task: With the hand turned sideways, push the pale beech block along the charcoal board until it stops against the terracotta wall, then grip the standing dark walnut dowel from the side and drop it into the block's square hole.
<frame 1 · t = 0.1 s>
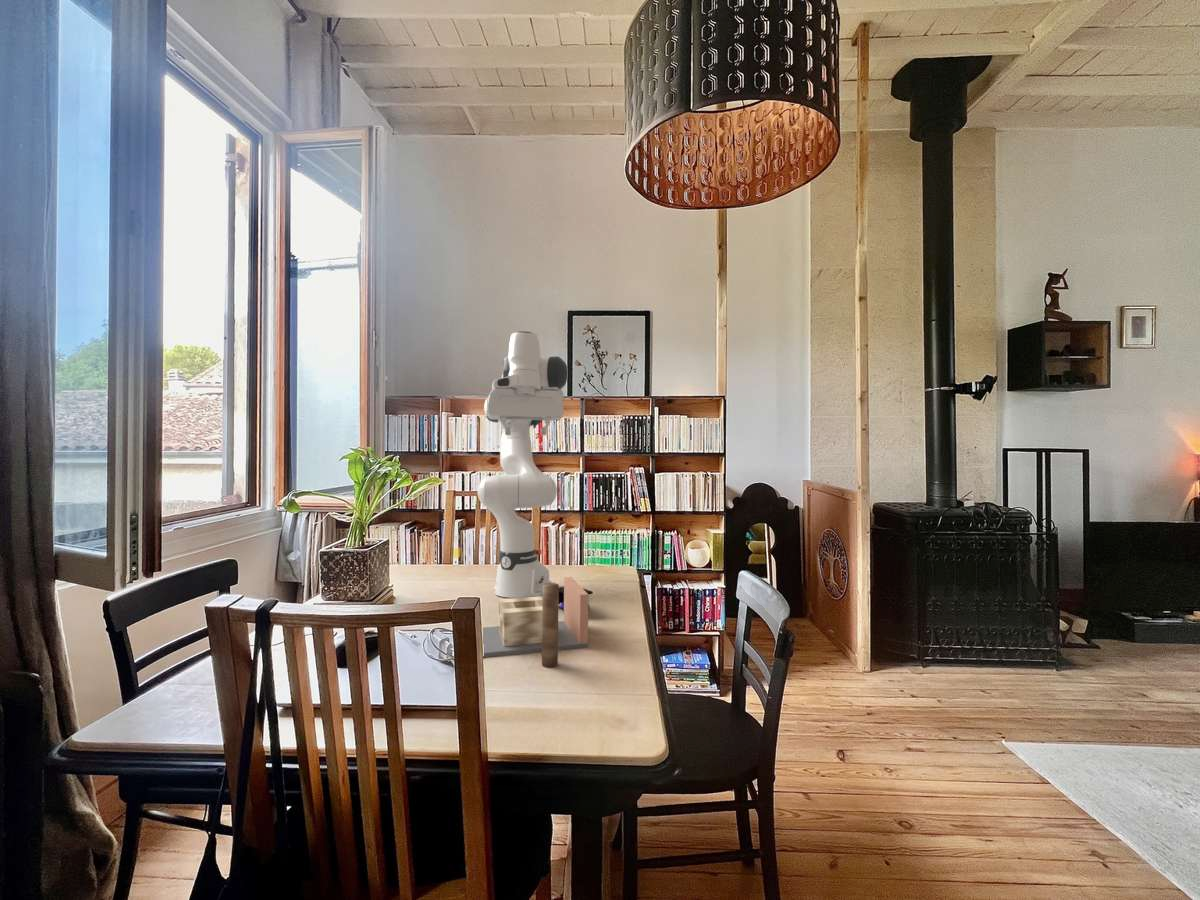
hand: (525, 434, 150), 52 cm above the table, tool tilted 20°, fingers open, 8 cm apart
figurine character: (571, 612, 168), on the table
block: (525, 619, 143), point 5 cm above the table, slide at 0.0 cm
dowel: (549, 664, 128), on the table
backstop: (527, 639, 144), on the table
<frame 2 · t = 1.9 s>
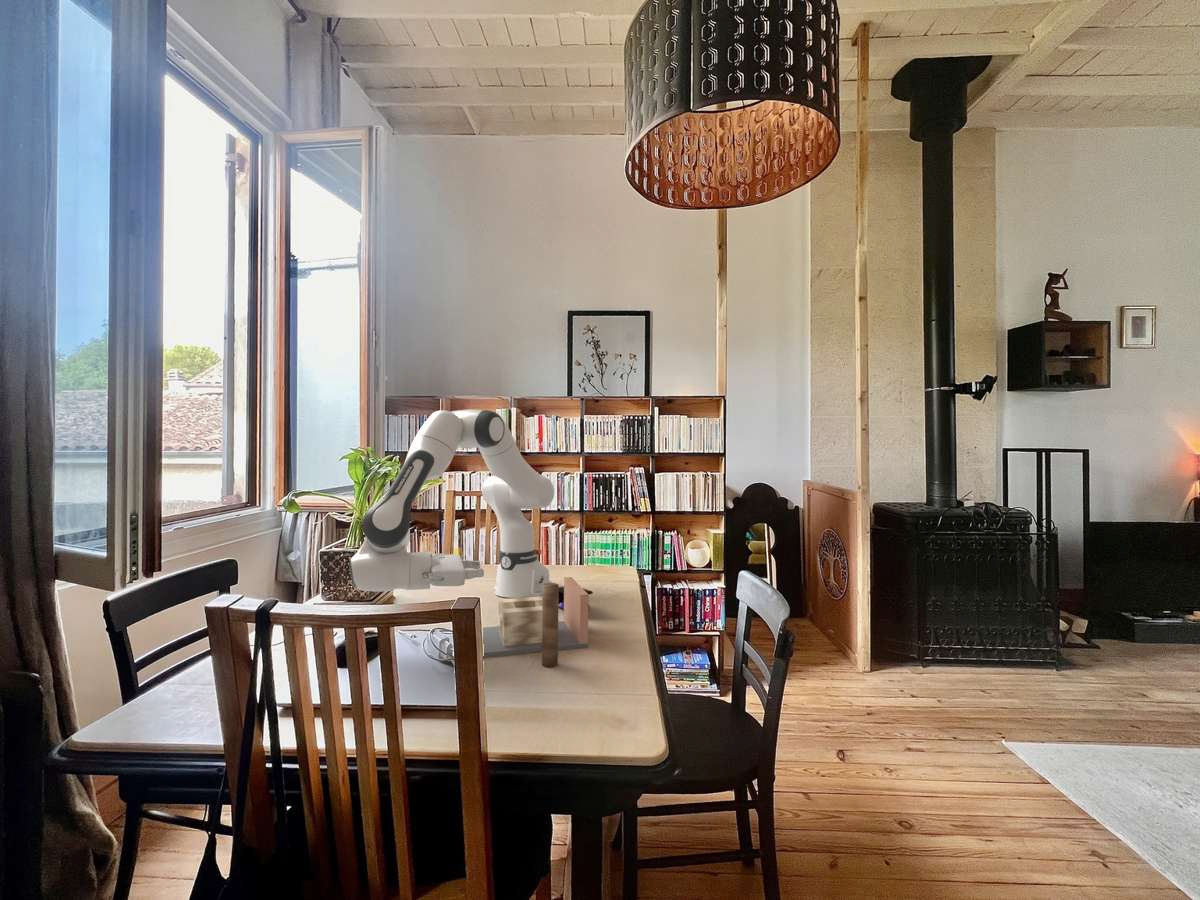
hand: (481, 568, 140), 19 cm above the table, tool horizontal, fingers open, 8 cm apart
nothing on the table moved.
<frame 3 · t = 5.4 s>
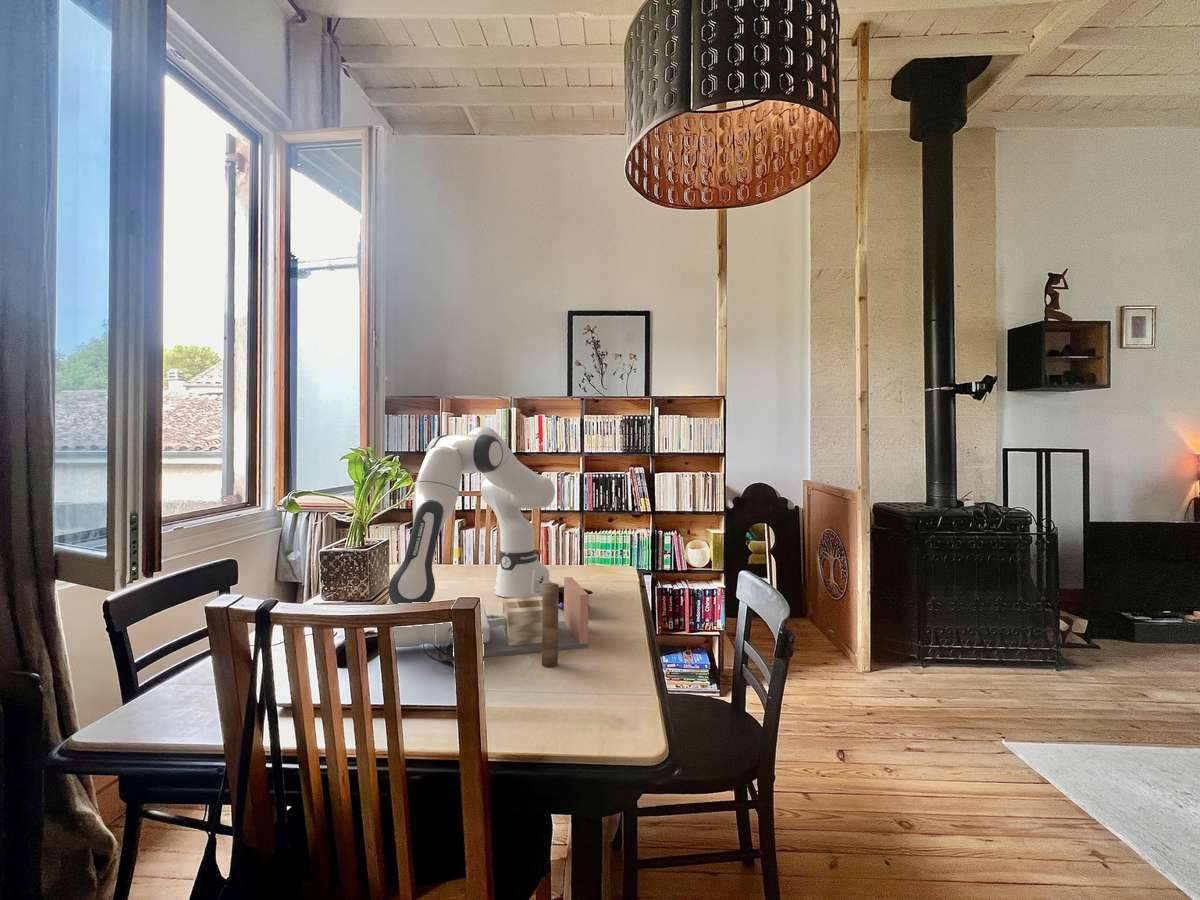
hand: (505, 620, 142), 5 cm above the table, tool horizontal, fingers closed, pressing on block
block: (529, 619, 144), point 5 cm above the table, slide at 1.1 cm, touching gripper
everything else where it was.
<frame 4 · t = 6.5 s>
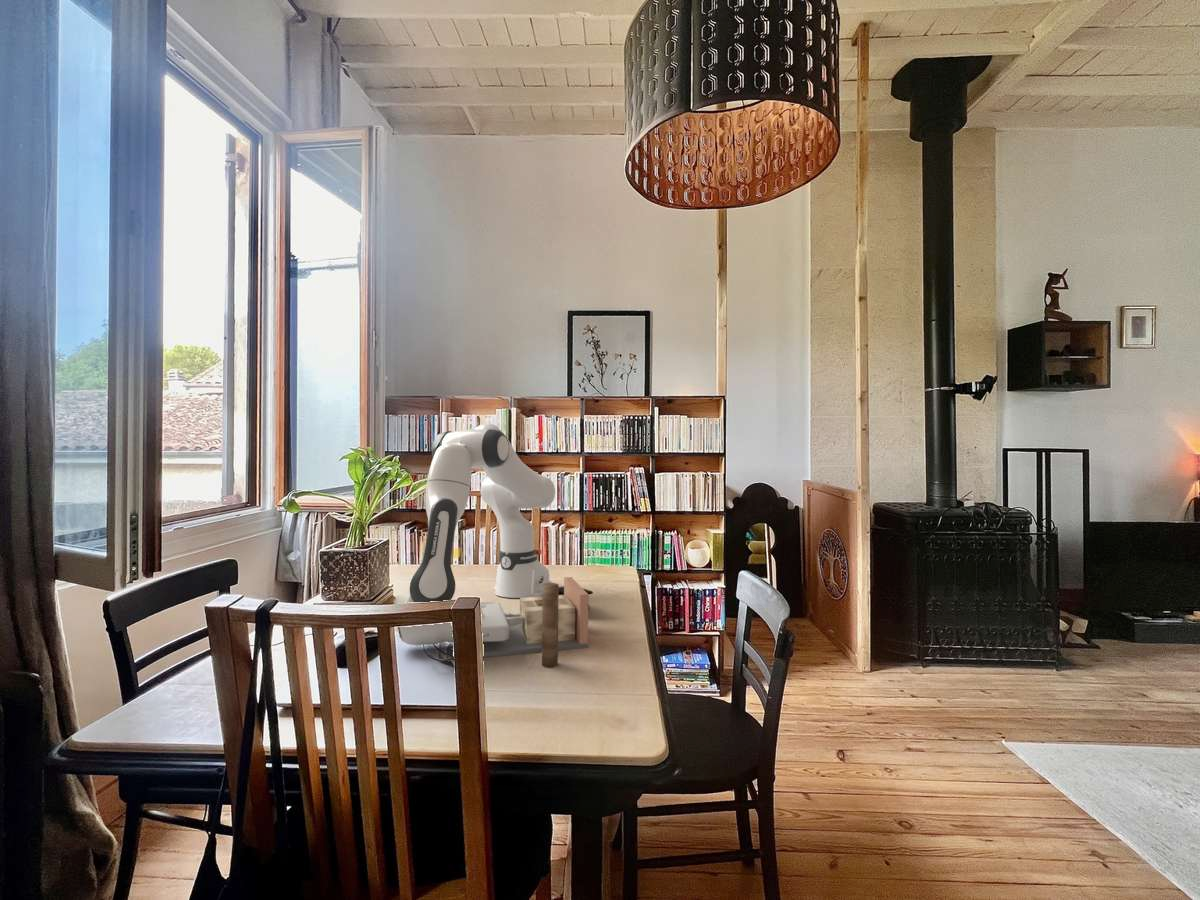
hand: (523, 618, 143), 5 cm above the table, tool horizontal, fingers closed, pressing on block
block: (546, 618, 145), point 5 cm above the table, slide at 5.5 cm, touching gripper
everything else where it was.
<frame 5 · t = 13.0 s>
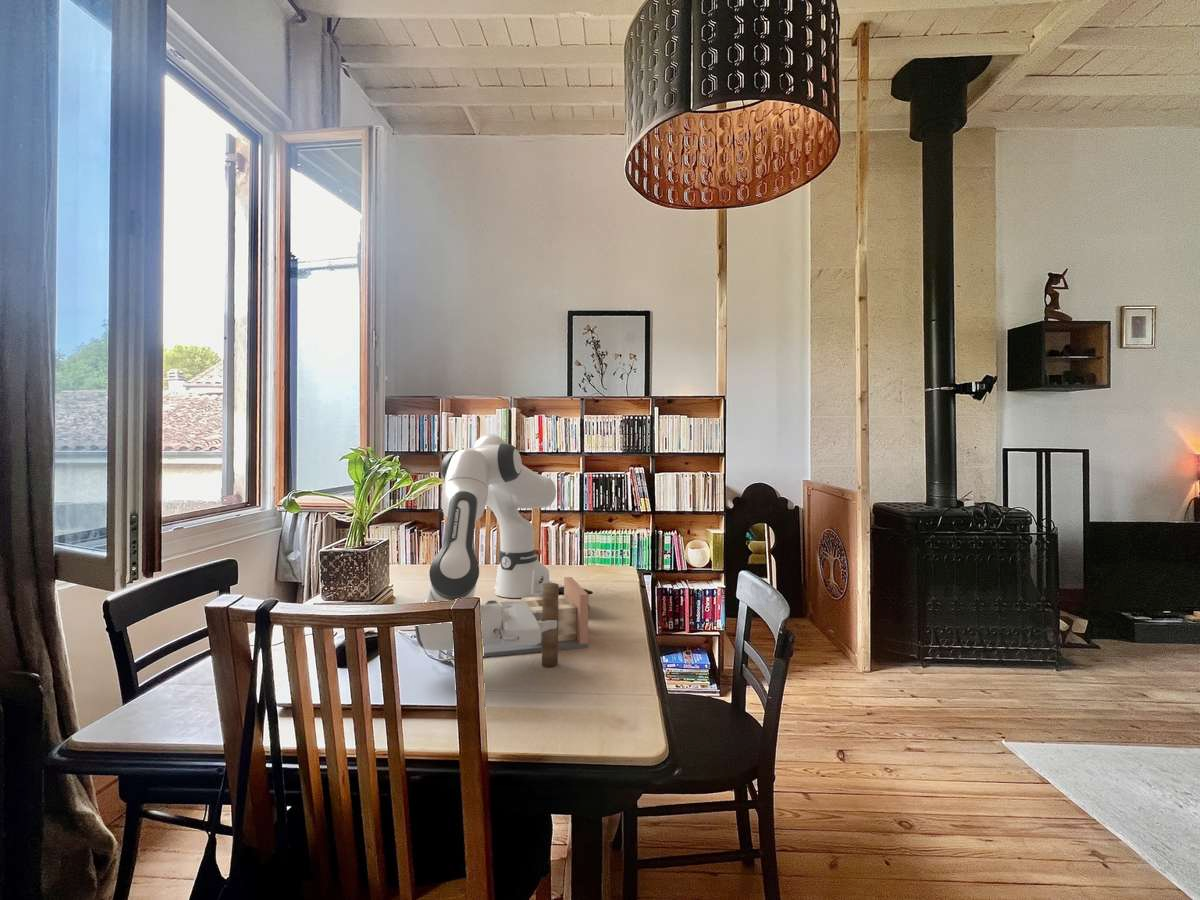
hand: (554, 619, 128), 10 cm above the table, tool horizontal, fingers closed on dowel, 4 cm apart
block: (548, 618, 145), point 5 cm above the table, slide at 5.9 cm
dowel: (549, 664, 128), on the table, touching gripper
everything else where it was.
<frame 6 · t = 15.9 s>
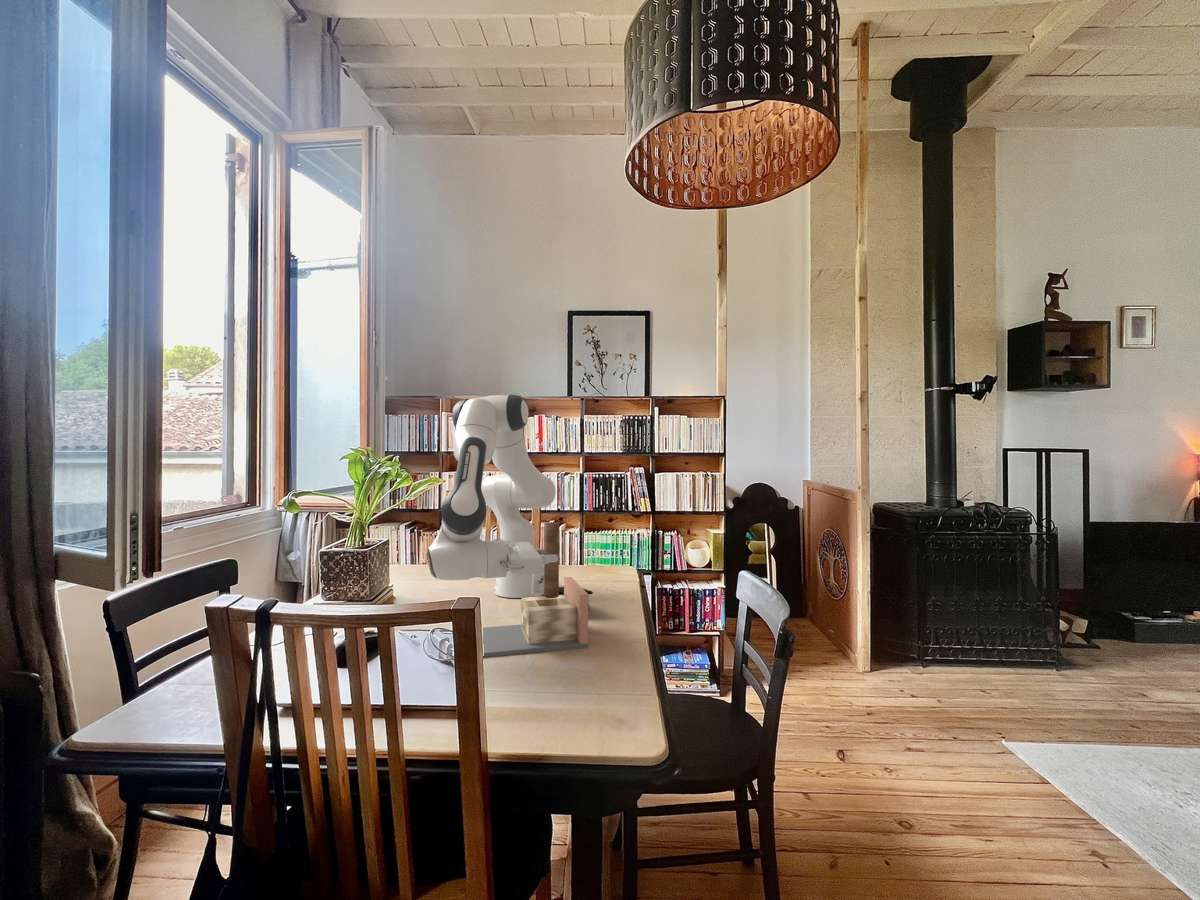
hand: (555, 555, 140), 22 cm above the table, tool horizontal, fingers closed on dowel, 4 cm apart
dowel: (551, 596, 140), point 12 cm above the table, touching gripper
everything else where it was.
when the fingers open (14 cm above the table, at t = 18.9 s): dowel drops 2 cm, resting on block.
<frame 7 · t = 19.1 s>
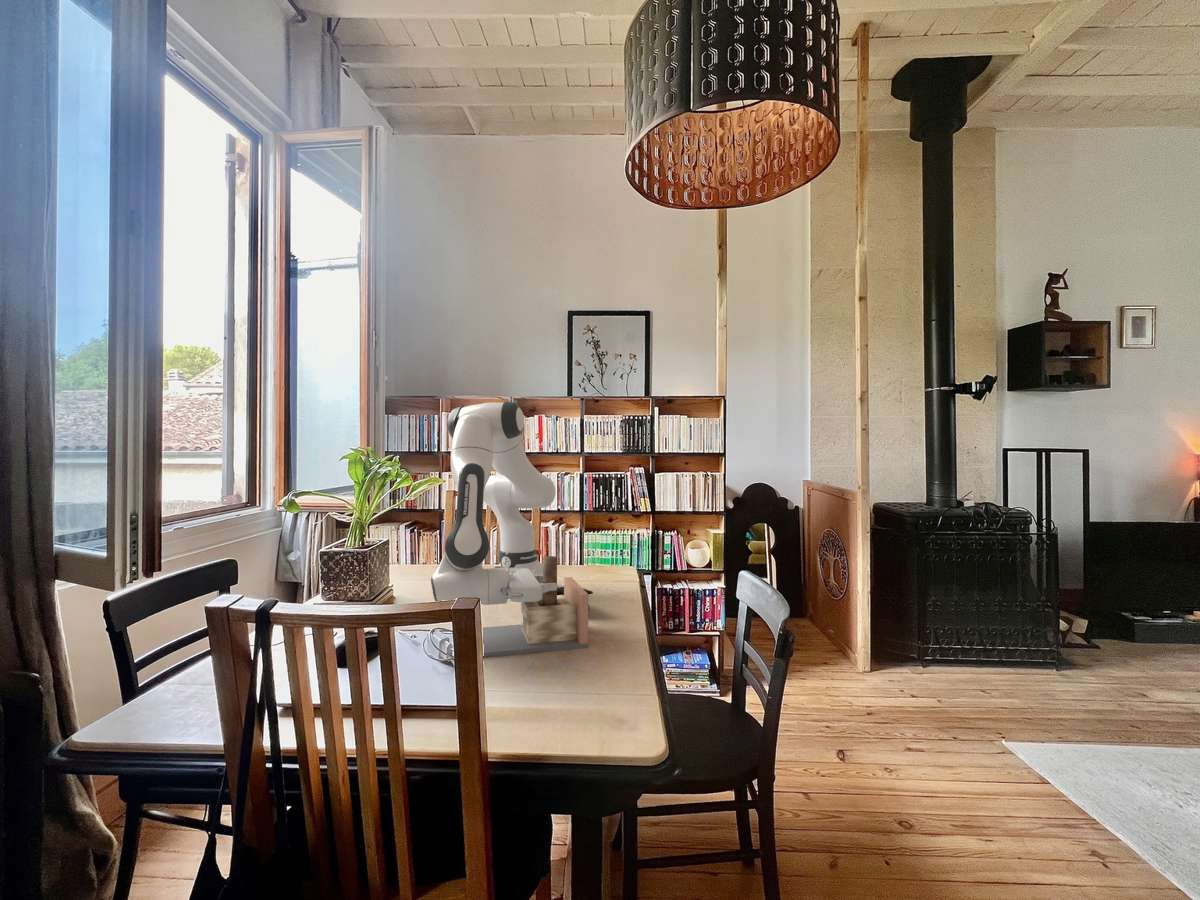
hand: (553, 582, 145), 14 cm above the table, tool horizontal, fingers open, 5 cm apart
block: (548, 618, 145), point 5 cm above the table, slide at 5.9 cm, touching dowel
dowel: (549, 627, 145), point 3 cm above the table, touching block
everything else where it was.
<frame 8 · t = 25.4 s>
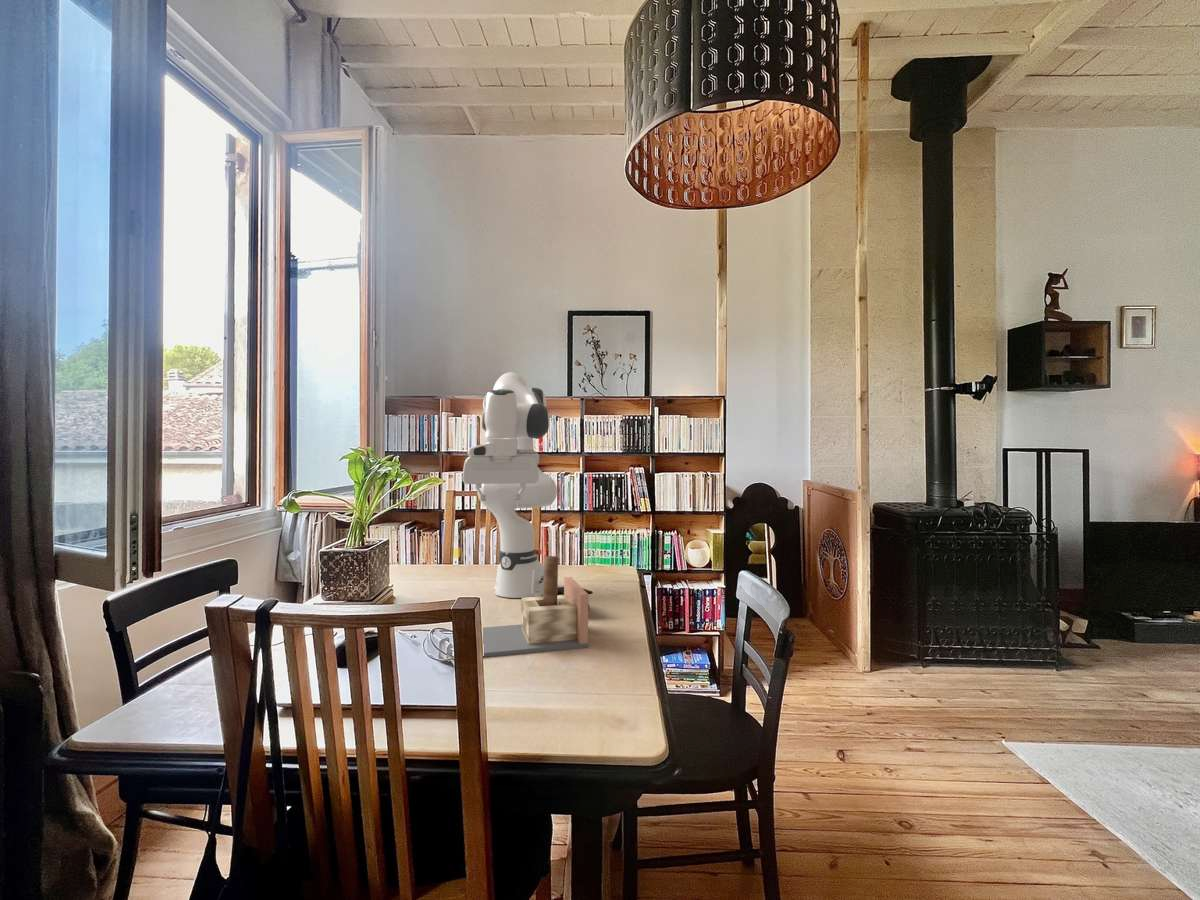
hand: (500, 500, 153), 34 cm above the table, tool pointing down, fingers open, 8 cm apart
nothing on the table moved.
at the end: block slide at 5.9 cm; dowel 0.4 cm off-centre on the block, point 1.5 cm above the block's base; dowel tilted 1° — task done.
